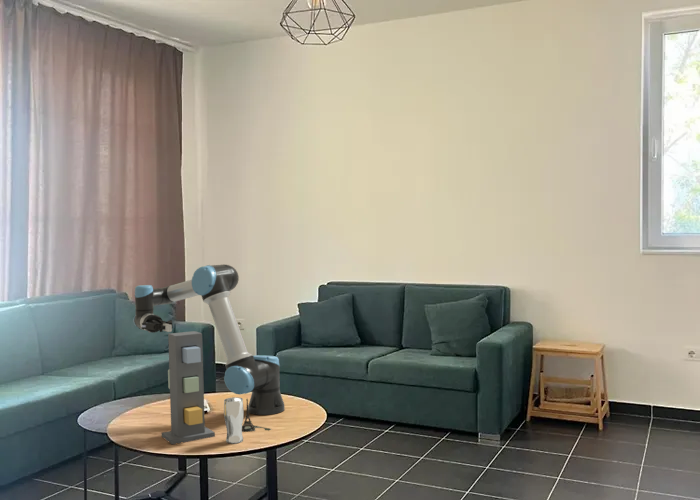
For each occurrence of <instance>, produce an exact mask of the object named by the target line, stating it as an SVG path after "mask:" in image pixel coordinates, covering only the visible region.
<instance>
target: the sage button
mask: <svg viewBox="0 0 700 500" xmlns="http://www.w3.org/2000/svg"><path fill="white" fill-rule="evenodd" d="M167 377H168V378H167V381H168V383H167V384H168V386H167V387H168V389H169V390H170V375H169V369H168V370H167ZM182 387H183V392H184V393H190V392H196V391H199V377H197V376H188V377H182Z"/></svg>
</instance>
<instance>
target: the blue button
mask: <svg viewBox="0 0 700 500" xmlns="http://www.w3.org/2000/svg"><path fill="white" fill-rule="evenodd" d="M181 353H182V362H185V363H187V364H188V363H196V362H201V348H199V347H196V346H185V347H181Z"/></svg>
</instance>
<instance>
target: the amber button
mask: <svg viewBox="0 0 700 500" xmlns="http://www.w3.org/2000/svg"><path fill="white" fill-rule="evenodd" d="M183 421H184V422H185V423H186V424H188V425H194V424H200V423H203V417H202V409H201V408H199V407H198V406H191V407H185V408H183Z"/></svg>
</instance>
